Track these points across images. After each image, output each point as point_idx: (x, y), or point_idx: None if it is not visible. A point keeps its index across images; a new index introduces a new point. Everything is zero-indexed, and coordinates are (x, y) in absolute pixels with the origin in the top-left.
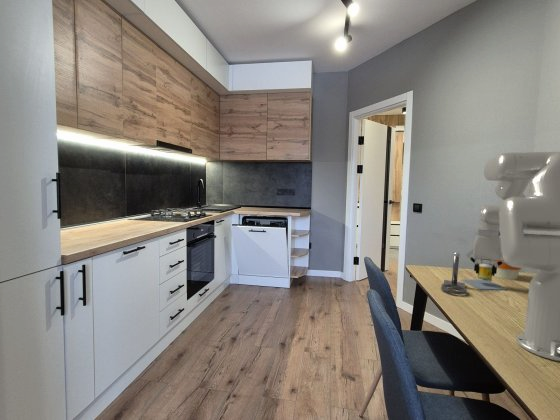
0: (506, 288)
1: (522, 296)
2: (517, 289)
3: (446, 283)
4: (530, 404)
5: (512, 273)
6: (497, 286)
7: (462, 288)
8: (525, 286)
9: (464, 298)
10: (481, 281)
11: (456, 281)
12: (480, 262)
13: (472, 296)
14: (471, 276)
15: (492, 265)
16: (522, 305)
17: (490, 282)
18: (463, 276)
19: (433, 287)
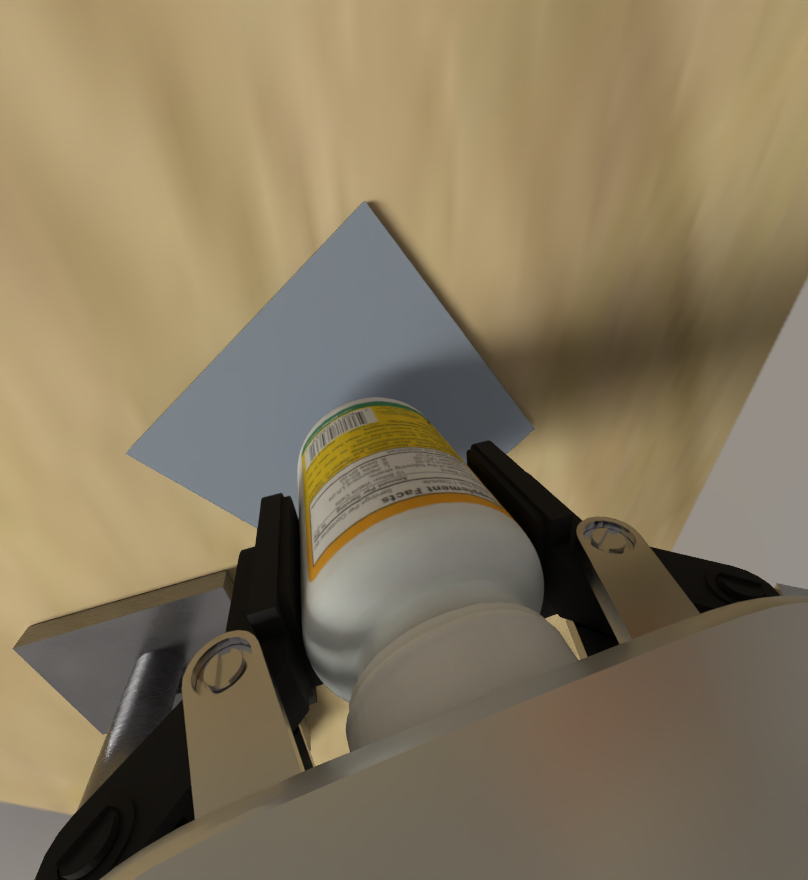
0: (528, 422)
1: (588, 490)
2: (602, 338)
3: (109, 708)
4: None
5: None
6: (468, 420)
7: None
8: (704, 149)
9: (313, 750)
10: (325, 360)
11: (174, 694)
12: (341, 658)
13: (340, 702)
14: (115, 75)
15: (540, 606)
16: (551, 622)
17: (411, 322)
18: (22, 195)
19: (76, 773)
